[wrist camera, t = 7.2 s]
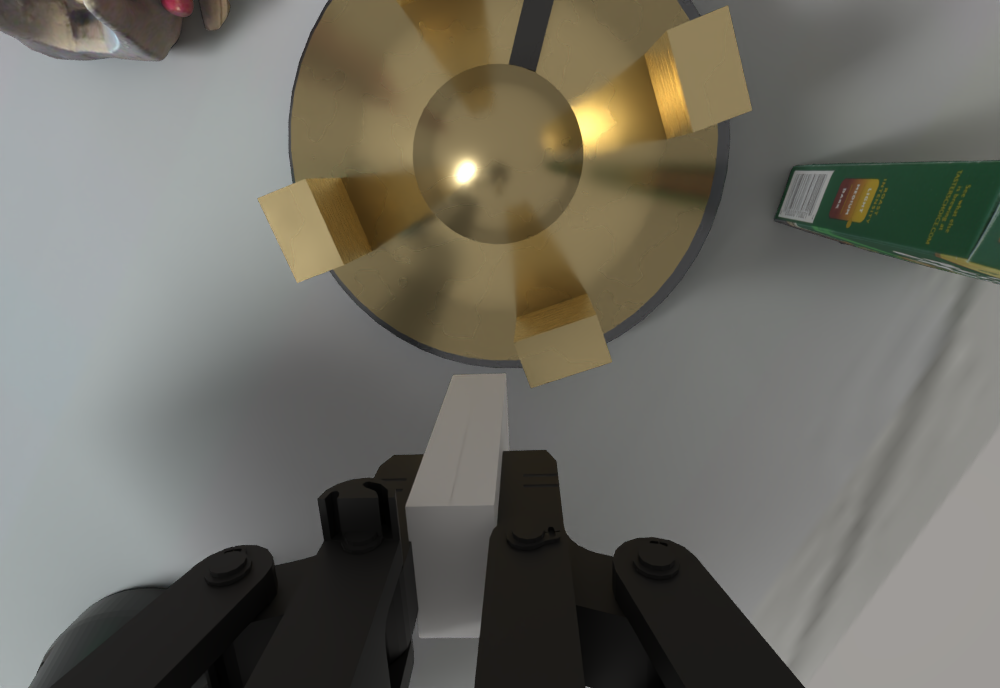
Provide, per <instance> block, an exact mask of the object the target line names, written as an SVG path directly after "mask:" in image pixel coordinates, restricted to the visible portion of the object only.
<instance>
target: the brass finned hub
mask: <svg viewBox="0 0 1000 688" xmlns="http://www.w3.org/2000/svg"><path fill="white" fill-rule="evenodd" d="M749 111H752V107H751V103H750V98H749V94H748V90H747V85H746V81H745V76H744V72H743V68H742V63H741V59H740V55H739V50H738V46H737V42H736V37H735V33H734V29H733V24H732V20H731V16H730V11H729V7H728V5H727V6H725V7H722V8H720V9H718V10H715V11H713V12H710V13H708V14H705V15H703V16H701V17H698V18H696V19H693V20H691V21H690V20H689V18H688V16H687V15H686V13H685V12H684V10H683V9H682V7H681V6H680V4H679V3H678V1H677V0H332V2H331V3H330V4H329V6H328V7H327V9H326V10H325V12H324V14H323V16H322V18H321V20H320V22H319V23H318V25H317V27H316V29H315V31H314V33H313V35H312V37H311V40H310V42H309V45H308V47H307V50H306V53H305V55H304V58H303V60H302V63H301V67H300V71H299V75H298V79H297V83H296V87H295V92H294V99H293V108H292V117H291V154H292V162H293V169H294V177H295V182H296V183H294V184H291V185H289V186H287V187H284V188H282V189H279V190H277V191H274V192H272V193H269V194H267V195H265V196H262V197H260V198H257V199H258V201H259V203H260V205H261V207H262V209H263V211H264V214H265V216H266V218H267V220H268V222H269V224H270V226H271V228H272V230H273V233H274V235H275V237H276V239H277V241H278V243H279V245H280V247H281V249H282V252H283V254H284V256H285V258H286V260H287V262H288V264H289V266H290V269H291V271H292V273H293V275H294V277H295V279H296V281H297V283H298V282H301V281H303V280H306V279H309V278H311V277H314V276H317V275H319V274H322V273H324V272H327V271H330V270H332V269H333V270H334V272H335V273H336V274H337V276H338V277H339V279H340V280H341V281H342V282H343V283H344V285H345V286H346V287H347V288H348V289H349V290H350V291H351V292H352V294H353V295H354V296H355V297H356V298H357V299H358V300H359V301H360V302H361V303H362V304H364V305H365V306H366V307H367V308H368V309H369V310H370V311H371V312H373V313H374V314H375V315H376V316H377V317H379V318H380V319H381V320H383V321H384V322H386V323H387V324H389V325H390V326H392V327H393V328H394V329H396V330H397V331H399V332H401V333H403V334H405V335H407V336H409V337H410V338H412V339H414V340H416V341H418V342H420V343H423V344H425V345H428V346H430V347H433V348H436V349H438V350H441V351H444V352H448V353H452V354H456V355H460V356H464V357H469V358H477V359H486V360H520V361H521V364H522V366H523V369H524V372H525V374H526V377H527V379H528V382H529V385H530V387H531V388H533V387H537V386H540V385H543V384H546V383H549V382H552V381H555V380H558V379H561V378H564V377H567V376H571V375H574V374H577V373H580V372H583V371H586V370H589V369H592V368H595V367H598V366H602V365H605V364H608V363H611V362H612V360H611V357H610V354H609V351H608V348H607V345H606V342H605V338H604V335H603V334H604V333H606V332H608V331H610V330H611V329H613V328H615V327H616V326H617V325H619V324H620V323H622V322H623V321H624V320H626V319H627V318H628V317H630V316H631V315H633V314H634V313H635V312H636V311H637V310H639V309H640V308H641V307H642V306H643V305H644V304H645V303H646V302H647V301H648V300H649V299H650V298H651V297H652V296H654V295H655V293H656V292H657V291H658V290H659V289H660V287H661V286H662V285H663V284H664V283H665V282H666V280H667V279H668V278H669V277H670V276H671V274H672V273H673V272H674V270H675V269H676V267H677V265H678V264H679V262H680V261H681V259H682V258H683V256H684V255H685V253H686V251H687V250H688V248H689V246H690V244H691V242H692V240H693V238H694V236H695V234H696V231H697V229H698V227H699V225H700V223H701V220H702V217H703V214H704V211H705V208H706V205H707V202H708V199H709V197H710V192H711V187H712V182H713V177H714V173H715V168H716V156H717V144H718V125H717V123H720V122H723V121H725V120H728V119H731V118H733V117H736V116H738V115H741V114H744V113H746V112H749Z"/></svg>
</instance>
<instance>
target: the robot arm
mask: <svg viewBox="0 0 1000 688" xmlns="http://www.w3.org/2000/svg"><path fill="white" fill-rule="evenodd" d="M318 505H319V511H320V518H321V524H322V530H323V537H324V542H323V544H322V546H321V548H320V550H319V551H318V553H317V555H315V556H313V557H309V558H306V559H302V560H298V561H294V562H289V563H285V564H280V565H276V566H275V565H274V560H273V556H272V555H271V553H270V552H269V551H268V549H266V548H263V547H260V546H257V545H241V546H235V547H230V548H227V549H224V550H222V551H220V552H217V553H215V554H212V555H210V556H209V557H207V558H206V559H204V560H203V561H201V562H200V563H198V564H197V565H195V566H194V567H193V568H192V569H191V570H189V571H188V572H187V573H186V574H185V575H183V576H182V577H181V578H180V579H179V580H177V581H176V582H175V583H174V584H173V585H171V586H170V587H169V588H168V589H158V588H146V589H135V590H128V591H123V592H120V593H116V594H113V595H110V596H108V597H106V598H104V599H101V600H100V601H98V602H96V603H95V604H93V605H92V606H90V607H89V608H88V609H87V610H85V611H84V612H83V613H82V614H81V615H80V616H79V617H78V618H77V619H76V620H75V621H74V622H73V623H72V624H71V625H70V626H69V627H68V628H67V629H66V630H65V631H64V632H63V633H62V634H61V635H60V636H59V637H58V638H57V639H56V640H55V642H54V643H53V644H52V646H51V647H50V648H49V649H48V651H47V653H46V654H45V656H44V658H43V660H42V662H41V665H40V667H39V669H38V671H37V674H36V676H35V678H34V679H33V681H32V683H31V684H30V686H29V688H408V686H409V682H410V678H411V673H412V669H413V664H414V650H413V641H412V634H413V630H414V626H415V622H416V618H417V622H418V631H419V638H479V647H478V657H477V667H476V677H475V687H474V688H585V686H587V687H590V688H805V687H804V686H803V685H802V684H801V682H800V681H799V680H798V679H797V678H796V676H795V675H794V674H793V673H792V672H791V670H790V669H789V668H788V667H787V666H786V664H785V663H784V662H783V661H782V660H781V658H780V657H779V656H778V655H777V654H776V652H775V651H774V650H773V649H772V648H771V646H770V645H769V644H768V643H767V642H766V640H765V639H764V638H763V637H762V636H761V634H760V633H759V632H758V631H757V630H756V628H755V627H754V626H753V625H752V624H751V622H750V621H749V620H748V619H747V618H746V616H745V615H744V614H743V613H742V612H741V610H740V609H739V608H738V607H737V606H736V604H735V603H734V602H733V601H732V600H731V599H730V597H729V596H728V595H727V594H726V593H725V591H724V590H723V589H722V588H721V587H720V585H719V584H718V583H717V582H716V581H715V579H714V578H713V577H712V576H711V575H710V573H709V572H708V571H707V570H706V569H705V567H704V566H703V565H702V564H701V563H700V561H699V560H698V559H697V558H696V557H695V556H694V555H693V554H692V553H691V552H690V551H688V550H687V549H686V548H685V547H683V546H681V545H679V544H676V543H674V542H672V541H670V540H665V539H659V538H654V537H649V538H636V539H633V540H630V541H627V542H624V543H623V544H622V545H621V546H620V547H619V548H617V549H616V551H615V554H614V557H612V556H608V555H603V554H599V553H595V552H592V551H589V550H587V549H585V548H582V547H580V546H579V545H577V544H576V543H575V542H573V541H572V540H571V539H570V538H569V536H568V535H567V534H566V532H565V529H564V524H563V515H562V506H561V498H560V489H559V480H558V471H557V462H556V460H555V459H554V458H553V457H552V456H551V455H550V454H549V453H548V452H547V451H546V450H527V451H510V447H509V425H508V403H507V380H506V373H498V374H464V375H453V376H452V379H451V381H450V384H449V387H448V390H447V392H446V395H445V398H444V401H443V403H442V406H441V409H440V412H439V415H438V417H437V420H436V423H435V426H434V428H433V431H432V434H431V437H430V439H429V442H428V445H427V448H426V450H425V453H424V454H420V455H394V456H392V457H391V458H390V459H388V460H387V461H386V462H385V463H383V464H382V465H381V466H380V467H379V469H378V471H377V473H376V475H375V477H374V478H361V479H353V480H349V481H346V482H343V483H340V484H337V485H335V486H333V487H331V488H330V489H328V490H326V491H325V492H324V493H323V494H322V495H321V496H320V497H319V498H318Z"/></svg>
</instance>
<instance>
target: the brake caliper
mask: <svg viewBox="0 0 1000 688" xmlns="http://www.w3.org/2000/svg"><path fill="white" fill-rule="evenodd" d="M199 3H200V7H201V12H202V17H203V21H204V25H205V28H206V29H207V30H209V31H211V30H217V29H219V28H220V27H221V25H222V24H223V23H224V21H225V20H226V18H227V17H228V14H229V10H230V3H229V1H228V0H199ZM193 6H194V4H193V0H0V31H2V32H3V33H5V34H8V35H10V36H12V37H14V38H16V39H17V40H19V41H20V42H21V43H23V44H24V45H26V46H27V47H28V48H30V49H32V50H34V51H37V52H39V53H42V54H45V55H47V56H49V57H53V58H56V59H66V60H97V59H105V58H120V59H129V60H140V61H161V60H163V59H164V58H165V57H166V56H167V55H168V52H169V50H170V48H171V47H172V46H173V45H174V44H175V43H176V41H177V40H178V38H179V36H180V32H181V28H182V17H187V16H189V15H191V14H192V12H193Z"/></svg>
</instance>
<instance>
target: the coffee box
mask: <svg viewBox="0 0 1000 688" xmlns="http://www.w3.org/2000/svg"><path fill="white" fill-rule="evenodd" d="M774 221H776V222H779V223H782V224H785V225H788V226H791V227H794V228H797V229H800V230H803V231H807V232H810V233H813V234H816V235H819V236H822V237H825V238H829V239H832V240H835V241H838V242H840V243H842V244H847V245H852V246H854V247H858V248H862V249H865V250H868V251H871V252H877V253H880V254H883V255H887V256H891V257H894V258H898V259H902V260H905V261H909V262H913V263H917V264H920V265H924V266H927V267H931V268H936V269H940V270H944V271H948V272H952V273H956V274H961V275H965V276H969V277H973V278H977V279H981V280H984V281H989V282H992V283H996V284H1000V160H990V161H937V162H901V163H838V164H812V165H797V166H794V167H793V168H792V170H791V173H790V176H789V179H788V182H787V185H786V188H785V191H784V193H783V196H782V199H781V202H780V205H779V207H778V210H777V212H776V215H775V218H774Z"/></svg>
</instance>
